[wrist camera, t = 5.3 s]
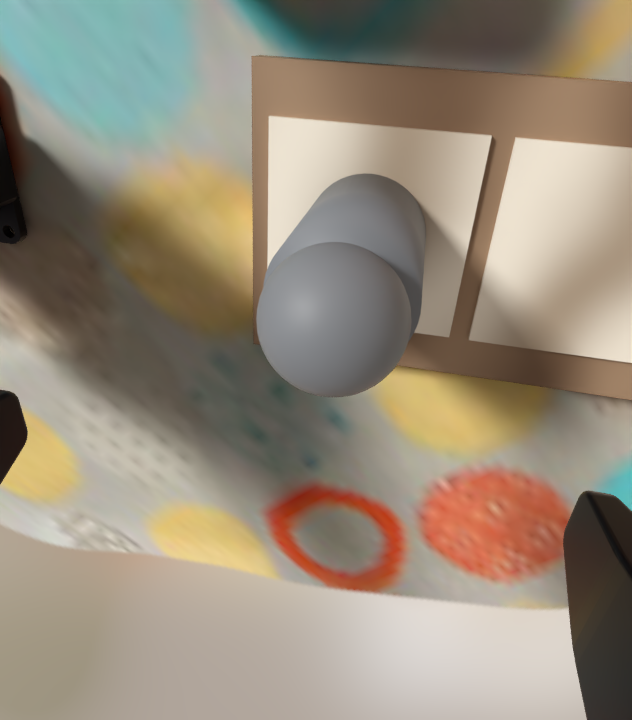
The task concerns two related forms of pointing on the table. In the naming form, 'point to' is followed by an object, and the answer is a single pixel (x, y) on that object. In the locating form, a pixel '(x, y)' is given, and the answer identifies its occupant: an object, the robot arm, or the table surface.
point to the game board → (471, 205)
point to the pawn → (345, 288)
